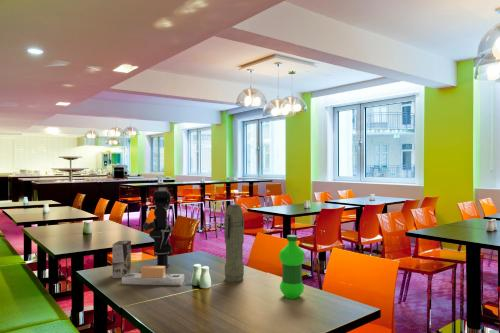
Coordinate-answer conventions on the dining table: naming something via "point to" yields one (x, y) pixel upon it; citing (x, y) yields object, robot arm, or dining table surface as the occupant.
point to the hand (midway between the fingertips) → (161, 247)
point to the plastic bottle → (292, 268)
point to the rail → (153, 279)
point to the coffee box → (121, 259)
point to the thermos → (234, 243)
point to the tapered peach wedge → (153, 271)
